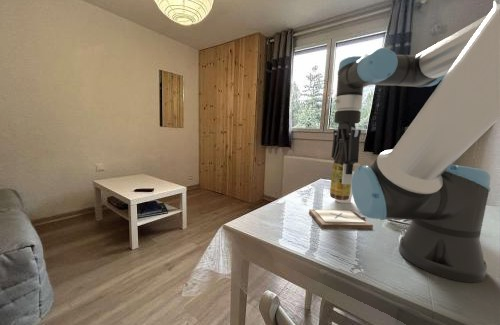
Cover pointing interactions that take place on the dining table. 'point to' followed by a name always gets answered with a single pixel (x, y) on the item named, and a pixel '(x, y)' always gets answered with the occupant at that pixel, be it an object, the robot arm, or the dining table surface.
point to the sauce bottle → (339, 176)
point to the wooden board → (340, 219)
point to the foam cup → (349, 196)
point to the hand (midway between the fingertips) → (341, 181)
